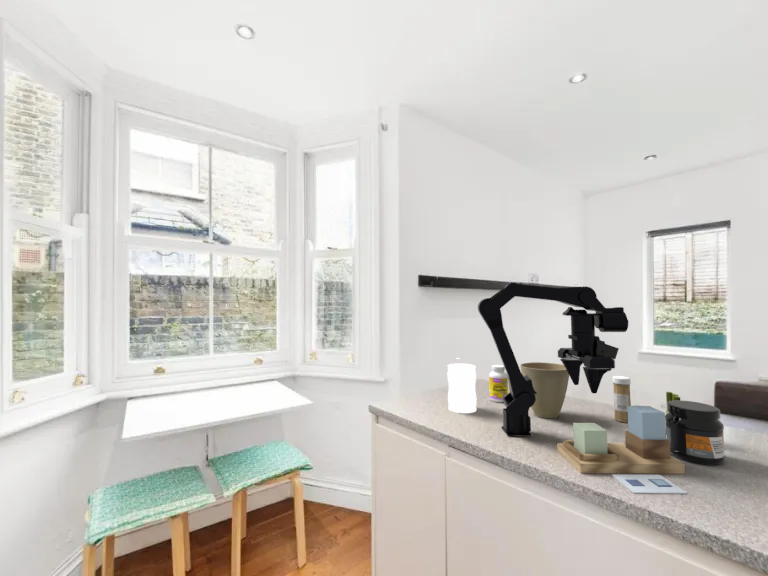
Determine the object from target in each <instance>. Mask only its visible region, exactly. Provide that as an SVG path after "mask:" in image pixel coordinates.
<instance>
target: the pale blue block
mask: <svg viewBox="0 0 768 576" xmlns="http://www.w3.org/2000/svg"><path fill="white" fill-rule="evenodd" d="M665 415H666V412H664V411H662V410H660V409H657V408H654V407H652V406H650V405H631V406H628V423H627V426H628V427H627V428H628V430H627V431H629V432H631V433H632V434H634V435H636V436H638V437H639V438H641V439H643V440H666V439H667V438H666V428H665Z"/></svg>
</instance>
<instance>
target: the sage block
mask: <svg viewBox="0 0 768 576" xmlns="http://www.w3.org/2000/svg"><path fill="white" fill-rule="evenodd" d="M572 424H573V425H572V426H573V427H572V428H573V431H572V432H573V440H574V447H575V448H576V449H577V450H578V451H579V452H581V453H582V454H608V452H607V443H608V434H607V433H608V431H607V429H605V428H604V427H601V426H600V425H598V424H596V423H595V422H573V423H572Z"/></svg>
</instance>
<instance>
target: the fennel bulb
mask: <svg viewBox="0 0 768 576" xmlns="http://www.w3.org/2000/svg"><path fill="white" fill-rule="evenodd" d="M665 395H666V400H665V401H666V403H667V402H669V401H674V400H681V396H679V395H678V394H676V393H673V392H672V391H666V393H665ZM668 412H669V411H668V410H667V409H666V411H665V415H666V414H667V413H668ZM665 428H666V420H665Z"/></svg>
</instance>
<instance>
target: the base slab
mask: <svg viewBox="0 0 768 576" xmlns="http://www.w3.org/2000/svg"><path fill="white" fill-rule="evenodd" d="M624 434H625V435H624V436H625V437H624V441H625V443H622V442H621V443H620V442H619V443H617V442H616V443H612V442H611V443H609V442H607V452H608V454H582V453H581V452H579V451H578V450H577V449H576V448H575V447H574V439H566V440H563V441H562V443H561V442H557V444H556V445H557V446H556V448H557V449H556V450H557V452H558V454H560V455H561V456H562V457H563V458H564V459H565V460H566V461H567V462H569V463H570V465H572V466H573V467H574V468H575V469H576V470H577V471H578V472H579V473H580V474H667V475H668V474H670V475H671V474H678V475H679V474H686V465H685V463H683V462H682V461H680V460H678V459H677V458H676V457H675V458H674V457H673V456H672V454H671V451H670V440H668V439H667V438H666V440H643V439H641V438H639V437H638V436H636V435H634V434H632V433H631V432H629V430H624Z"/></svg>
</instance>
